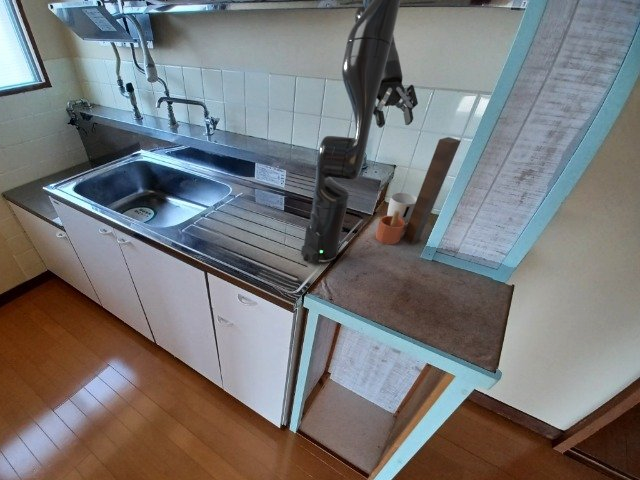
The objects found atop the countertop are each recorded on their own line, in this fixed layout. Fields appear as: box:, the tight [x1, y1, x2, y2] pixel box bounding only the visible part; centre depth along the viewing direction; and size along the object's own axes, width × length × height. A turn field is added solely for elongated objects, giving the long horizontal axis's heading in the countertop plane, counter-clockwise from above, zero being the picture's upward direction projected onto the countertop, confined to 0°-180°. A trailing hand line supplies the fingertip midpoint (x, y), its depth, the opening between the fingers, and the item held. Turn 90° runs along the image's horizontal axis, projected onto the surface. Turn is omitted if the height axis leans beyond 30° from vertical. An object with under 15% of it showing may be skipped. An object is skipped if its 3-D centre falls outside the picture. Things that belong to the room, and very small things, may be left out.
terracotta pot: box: [375, 215, 407, 245], centre depth 102 cm, size 7×7×6 cm
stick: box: [390, 211, 400, 227], centre depth 101 cm, size 3×3×9 cm
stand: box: [401, 136, 462, 245], centre depth 93 cm, size 4×4×30 cm
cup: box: [386, 192, 418, 224], centre depth 106 cm, size 8×8×10 cm
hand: (395, 124), depth 91 cm, fingers open, 8 cm apart
